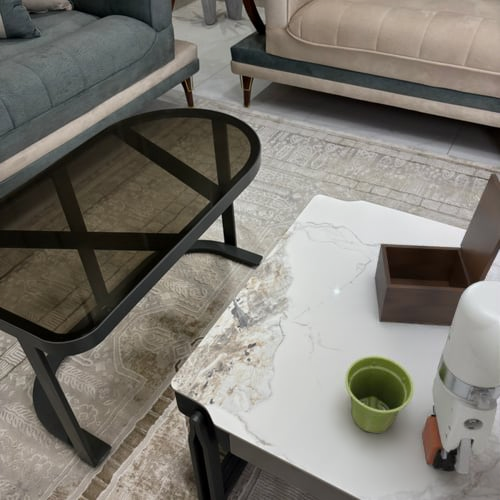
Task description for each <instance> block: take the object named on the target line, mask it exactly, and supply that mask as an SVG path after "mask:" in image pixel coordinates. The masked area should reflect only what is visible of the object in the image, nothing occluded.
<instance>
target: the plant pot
mask: <svg viewBox="0 0 500 500" xmlns="http://www.w3.org/2000/svg"><path fill="white" fill-rule="evenodd" d="M344 381H345V388H346V390H347V393H348V394H349V396H350V409H351V417H352V420H353V422H354V424H356V426H357V427H358V428H360V429H361V430H363V431H364V432H368V433H369V432H370V433H373V434H381V433H384V432H386V431H387V430H388V429H389V428H390V427H391V426H392V424H393V422H394V421H395V419H396V417H397V415H398V413H400V411H401V410H403V409H405V408H406V407H407V406H408V405H409V404H410V402H411V400H412V398H413V395H414V383H413V380H412V377H411V375H410V374H409V372H408V371H407V370H406V368H404V367H403V366H402V365H400V364H399V363H398V362H396V361H395V360H393V359H391V358H389V357H385V356H380V355H369V356H368V355H367V356H364V357H361V358H358V359H357V360H355V361H354V362H353V363H351V364H350V365H349V367H348V369H347V370H346V373H345V377H344ZM363 402H364V403H363Z"/></svg>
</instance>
